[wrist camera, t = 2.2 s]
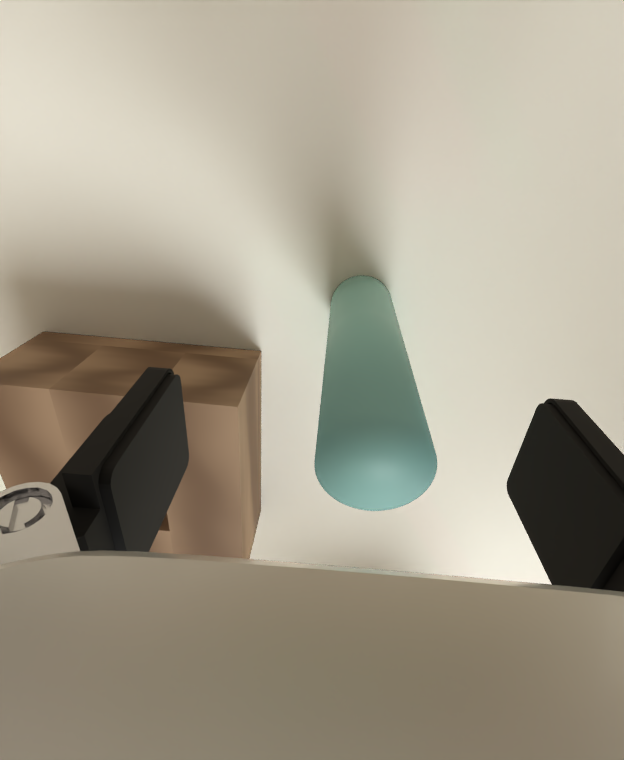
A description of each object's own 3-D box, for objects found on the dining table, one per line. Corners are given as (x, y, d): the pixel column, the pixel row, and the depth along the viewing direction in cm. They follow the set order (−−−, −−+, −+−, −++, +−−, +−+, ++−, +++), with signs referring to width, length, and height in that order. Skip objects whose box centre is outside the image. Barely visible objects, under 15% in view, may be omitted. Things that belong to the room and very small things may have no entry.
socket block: (261, 351, 22) (237, 406, 18) (260, 510, 28) (243, 584, 24) (43, 331, 23) (-37, 381, 18) (87, 492, 29) (36, 562, 24)
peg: (396, 278, 20) (449, 423, 10) (386, 336, 21) (424, 515, 11) (333, 273, 20) (318, 411, 10) (328, 331, 22) (310, 504, 11)
